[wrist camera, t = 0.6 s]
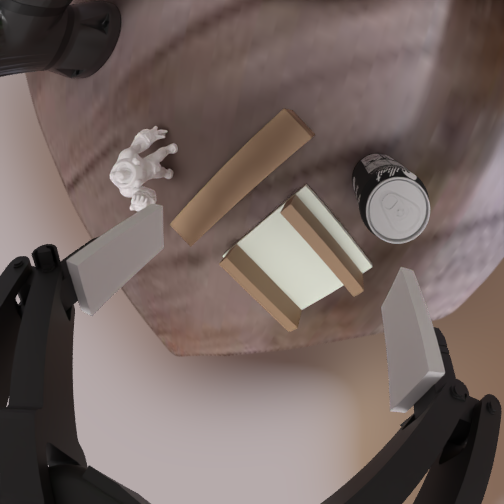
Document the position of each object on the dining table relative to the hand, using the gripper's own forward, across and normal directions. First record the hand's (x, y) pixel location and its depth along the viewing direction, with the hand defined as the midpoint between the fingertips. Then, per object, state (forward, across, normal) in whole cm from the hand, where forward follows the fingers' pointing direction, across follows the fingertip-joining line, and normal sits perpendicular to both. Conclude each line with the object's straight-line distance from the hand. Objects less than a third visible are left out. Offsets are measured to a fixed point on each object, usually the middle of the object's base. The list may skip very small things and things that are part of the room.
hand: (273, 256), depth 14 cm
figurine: (+22, -19, -1) cm, 29 cm away
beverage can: (+21, +8, +1) cm, 23 cm away
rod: (+22, -8, -2) cm, 23 cm away
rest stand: (+21, +1, -12) cm, 24 cm away
